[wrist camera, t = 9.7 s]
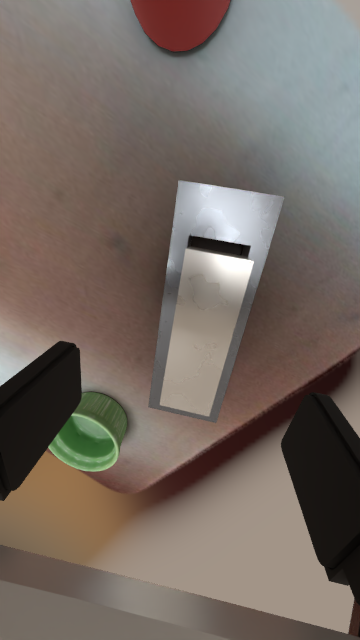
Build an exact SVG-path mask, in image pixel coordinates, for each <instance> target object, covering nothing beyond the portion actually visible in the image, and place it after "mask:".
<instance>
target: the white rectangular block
mask: <svg viewBox="0 0 360 640" xmlns="http://www.w3.org/2000/svg"><path fill="white" fill-rule="evenodd" d="M253 263H254V261H253V260H251V259H250V258H248V257H246V256H240V255H235V254H230V253H224V252H219V251H213V250H208V249H202V248H197V247H191V246H190V247H188V248H186V249H185V255H184V261H183V267H182V273H181V279H180V285H179V291H178V297H177V303H176V309H175V315H174V321H173V327H172V333H171V339H170V345H169V351H168V357H167V363H166V369H165V375H164V381H163V387H162V393H161V399H160V405H162V406H166V407H170V408H174V409H179V410H183V411H187V412H191V413H196V414H200V415H204V416H208V417H209V415H210V412H211V408H212V405H213V401H214V398H215V394H216V391H217V388H218V384H219V381H220V377H221V374H222V370H223V367H224V363H225V360H226V357H227V353H228V350H229V346H230V343H231V339H232V336H233V332H234V329H235V325H236V322H237V319H238V315H239V312H240V308H241V305H242V301H243V298H244V294H245V291H246V287H247V284H248V281H249V277H250V274H251V270H252V267H253Z"/></svg>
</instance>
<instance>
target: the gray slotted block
mask: <svg viewBox="0 0 360 640" xmlns="http://www.w3.org/2000/svg"><path fill="white" fill-rule="evenodd" d="M284 198H285V197H283V196H277V195H270V194H264V193H258V192H251V191H245V190H239V189H232V188H226V187H220V186H213V185H207V184H201V183H194V182H188V181H182V180H179V183H178V191H177V198H176V206H175V213H174V220H173V228H172V235H171V243H170V250H169V257H168V265H167V272H166V280H165V287H164V294H163V302H162V309H161V317H160V324H159V331H158V339H157V346H156V354H155V361H154V368H153V376H152V383H151V391H150V398H149V406H148V407H150V408H154V409H159V410H163V411H167V412H171V413H176V414H180V415H184V416H189V417H193V418H197V419H202V420H206V421H210V422H215V423H216V422H217V419H218V415H219V412H220V409H221V405H222V402H223V399H224V395H225V392H226V389H227V386H228V382H229V379H230V376H231V372H232V369H233V366H234V362H235V359H236V356H237V353H238V349H239V346H240V343H241V339H242V336H243V333H244V330H245V326H246V323H247V320H248V316H249V313H250V310H251V306H252V303H253V300H254V297H255V293H256V290H257V287H258V283H259V280H260V277H261V274H262V270H263V267H264V264H265V260H266V257H267V254H268V250H269V247H270V244H271V241H272V237H273V234H274V231H275V227H276V224H277V221H278V218H279V214H280V211H281V208H282V204H283V201H284ZM193 236H198V237H204V238H209V239H215V240H221V241H227V242H232V243H238V244H244V247H243V251H242V255H241V256H246V257H248V258H250V259H251V260H253V261H254V263H253V267H252V270H251V274H250V277H249V281H248V284H247V287H246V291H245V294H244V298H243V301H242V305H241V308H240V312H239V315H238V319H237V322H236V325H235V329H234V332H233V336H232V339H231V343H230V346H229V350H228V353H227V357H226V360H225V363H224V367H223V370H222V374H221V377H220V381H219V384H218V388H217V391H216V394H215V398H214V401H213V405H212V408H211V412H210V415H209V417H208V416H204V415H200V414H196V413H191V412H187V411H183V410H179V409H174V408H170V407H166V406H162V405H160V399H161V393H162V387H163V381H164V375H165V369H166V363H167V357H168V351H169V345H170V339H171V333H172V327H173V321H174V315H175V309H176V303H177V297H178V291H179V285H180V279H181V273H182V267H183V261H184V255H185V249H186V248H188V247H190V246H191V243H192V237H193Z"/></svg>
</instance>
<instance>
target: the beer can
mask: <svg viewBox="0 0 360 640" xmlns="http://www.w3.org/2000/svg"><path fill="white" fill-rule="evenodd" d="M131 3H132V6H133V9H134V12H135V14H136V17H137V18H138V20H139V22H140V24H141V26H142V28H143V30H144V32H145V33H146V34H147V35H148V36H149V37H150V38H151V39H152V40H153V41H154V42H155V43H156V44H157V45H158V46H160V47H163V48H165V49H168V50H170V51H188V50H190V49H192V48H194V47H196V46H198V45H200V44H202V43H203V42H204V41H205V40H206V39H207V38H208V37H209V36H210V35H211V34H212V33H213V32H214V31H215V30H216V29H217V27H218V25H219V23H220V21H221V20H222V18H223V16H224V14H225V13H226V11H227V9H228V7H229V3H230V0H131Z"/></svg>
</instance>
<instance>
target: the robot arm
mask: <svg viewBox="0 0 360 640" xmlns="http://www.w3.org/2000/svg"><path fill="white" fill-rule="evenodd" d="M81 398H82V391H81V368H80V350H79V348H77V347H76V345H75V344H74V343H69V342H64V341H59V342H58V343H56V344H55V345H54V346H52V347H51V348H50V349H48V350H47V351H46V352H45V353H43V354H42V355H41V356H39V357H38V358H37V359H35V360H34V361H33V362H32V363H30V364H29V365H28V366H26V367H25V368H24V369H22V370H21V371H20V372H18V373H17V374H16V375H15V376H13V377H12V378H11V379H9V380H8V381H7V382H5V383H4V384H3V385H1V386H0V500H2V501H4V500H5V499H6V497H7V496H8V495H9V493H10V492H11V491H14V490H16V489H17V488H18V487H19V486H20V485H21V484H22V482H23V481H24V480H25V478H26V477H27V475H28V474H29V473H30V471H31V470H32V469H33V467H34V466H35V465H36V463H37V462H38V460H39V459H40V458H41V456H42V455H43V453H44V452H45V451H46V449H47V448H48V447H49V445H50V444H51V443H52V441H53V440H54V438H55V437H56V436H57V434H58V433H59V432H60V430H61V429H62V427H63V426H64V425H65V423H66V422H67V421H68V419H69V418H70V416H71V415H72V414H73V412H74V411H75V410H76V408H77V407H78V405H79V404H80V402H81ZM281 448H282V452H283V455H284V458H285V461H286V464H287V467H288V470H289V473H290V476H291V479H292V482H293V485H294V489H295V492H296V495H297V498H298V500H299V504H300V507H301V510H302V513H303V516H304V519H305V522H306V525H307V528H308V531H309V534H310V537H311V540H312V544H313V547H314V549H315V553H316V555H317V558H318V560H319V562H320V564H321V565H322V566H324V567H325V570H326V573H327V576H328V579H329V581H331V582H335V583H339V584H343V585H347V586H348V585H350V588H351V590H352V593H353V595H354V604H353V609H352V615H351V620H350V626H349V632H348V634H345V633H342V632H338V631H334V630H331V629H327V628H323V627H319V626H315V625H311V624H308V623H304V622H300V621H296V620H293V619H289V618H285V617H281V616H277V615H273V614H269V613H266V612H262V611H258V610H255V609H251V608H247V607H243V606H239V605H236V604H231V603H228V602H224V601H220V600H216V599H212V598H208V597H204V596H201V595H197V594H193V593H189V592H185V591H181V590H177V589H173V588H169V587H165V586H162V585H158V584H153V583H150V582H146V581H142V580H138V579H134V578H130V577H126V576H122V575H118V574H115V573H111V572H106V571H103V570H99V569H95V568H91V567H87V566H83V565H79V564H75V563H71V562H67V561H63V560H59V559H55V558H51V557H47V556H43V555H39V554H35V553H31V552H27V551H23V550H19V549H15V548H11V547H7V546H3V545H0V640H360V438H359V437H358V435H357V434H356V432H355V431H354V430H353V428H352V427H351V425H350V424H349V423H348V421H347V420H346V418H345V417H344V416H343V414H342V413H341V411H340V410H339V408H338V407H337V406H336V404H335V403H334V402H333V400H332V399H331V398H330V397H329V396H327V395H323V394H318V393H310V394H309V395H306V396H305V397H304V398H303V400H302V402H301V404H300V406H299V408H298V410H297V412H296V414H295V416H294V418H293V420H292V422H291V423H290V425H289V427H288V429H287V431H286V433H285V435H284V437H283V439H282V442H281Z"/></svg>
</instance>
